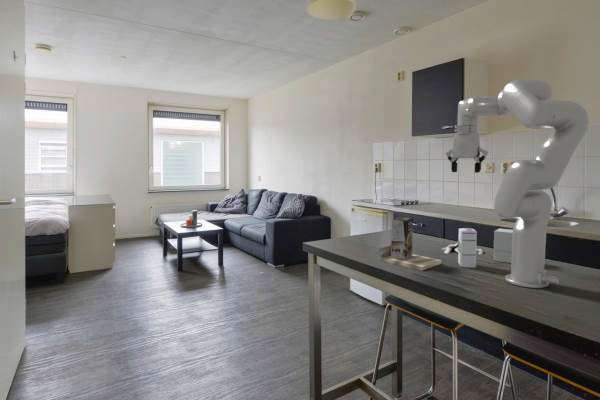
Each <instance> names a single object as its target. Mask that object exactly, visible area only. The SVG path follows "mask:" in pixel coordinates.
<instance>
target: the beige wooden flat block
mask: <svg viewBox="0 0 600 400" xmlns="http://www.w3.org/2000/svg"><path fill="white" fill-rule="evenodd" d="M378 251H379V252H378V260H379V261H381V262H384V263H388V264H392V265H395V266H396V265H397V266H400V267H406V268H410V269H413V270H418V271H424V270H428V269H430V268H433V267H436V266H439V265H441V264H442V260H441V259H437V258H433V257H427V256H423V255H418V254H414V253H412V256H410V257H409V258H407V259H406V260H403V259H396V258H391V244H387V245H383V246H379V248H378Z"/></svg>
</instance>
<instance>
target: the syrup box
mask: <svg viewBox="0 0 600 400" xmlns="http://www.w3.org/2000/svg"><path fill="white" fill-rule="evenodd" d="M477 235H478V233H477V230H476V229H474V228H471V227H463V228H458V240H457V242H458V253H457V264H458V265H459V267H460V268H471V269H473V268H474V269H475V268H477V253H476V249H477V246H478V245H477V241H478V239H477V237H478V236H477Z"/></svg>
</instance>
